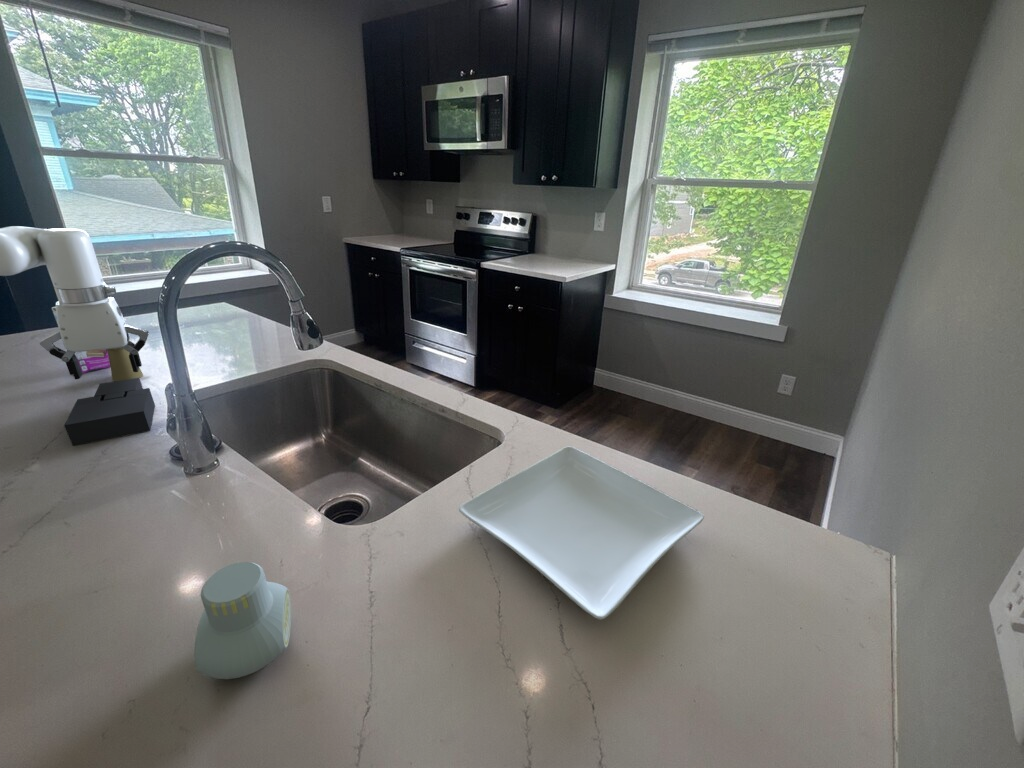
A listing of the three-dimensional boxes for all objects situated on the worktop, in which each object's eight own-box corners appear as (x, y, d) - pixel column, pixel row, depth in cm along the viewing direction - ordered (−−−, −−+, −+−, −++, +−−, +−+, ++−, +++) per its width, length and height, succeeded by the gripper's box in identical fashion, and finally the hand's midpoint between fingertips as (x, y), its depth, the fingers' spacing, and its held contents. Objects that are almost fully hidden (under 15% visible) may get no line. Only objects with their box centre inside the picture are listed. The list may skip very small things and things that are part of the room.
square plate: (703, 532, 72) (708, 512, 71) (597, 643, 55) (601, 620, 53) (568, 458, 90) (569, 440, 88) (455, 524, 72) (454, 504, 71)
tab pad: (98, 420, 97) (91, 401, 95) (106, 401, 104) (99, 383, 102) (140, 413, 100) (134, 394, 98) (145, 395, 107) (139, 377, 106)
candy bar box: (80, 375, 116) (55, 311, 109) (74, 369, 119) (49, 307, 112) (133, 362, 124) (113, 301, 118) (126, 357, 127) (106, 298, 120)
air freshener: (288, 678, 50) (270, 613, 46) (199, 704, 47) (171, 637, 43) (294, 597, 59) (280, 537, 55) (220, 614, 57) (199, 553, 52)
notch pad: (72, 445, 88) (63, 425, 86) (85, 418, 97) (77, 399, 95) (150, 430, 94) (143, 411, 92) (155, 406, 103) (149, 387, 101)
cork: (140, 370, 120) (127, 329, 115) (145, 377, 116) (131, 335, 111) (110, 376, 116) (95, 334, 111) (114, 384, 112) (98, 341, 107)
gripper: (139, 287, 100) (159, 361, 107) (29, 293, 91) (59, 373, 98) (135, 295, 94) (156, 373, 101) (17, 302, 85) (49, 387, 92)
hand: (108, 373), depth 100 cm, fingers open, 9 cm apart
